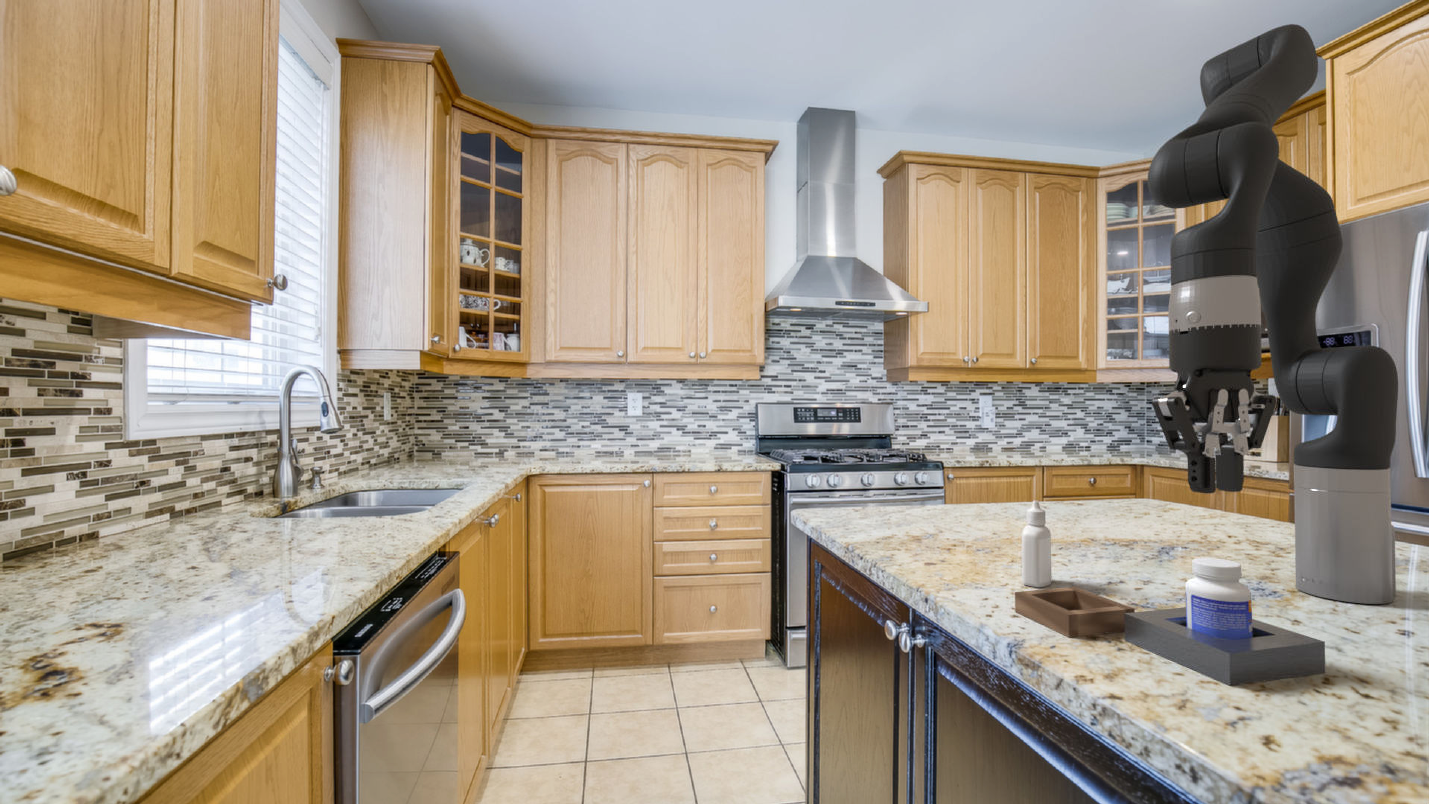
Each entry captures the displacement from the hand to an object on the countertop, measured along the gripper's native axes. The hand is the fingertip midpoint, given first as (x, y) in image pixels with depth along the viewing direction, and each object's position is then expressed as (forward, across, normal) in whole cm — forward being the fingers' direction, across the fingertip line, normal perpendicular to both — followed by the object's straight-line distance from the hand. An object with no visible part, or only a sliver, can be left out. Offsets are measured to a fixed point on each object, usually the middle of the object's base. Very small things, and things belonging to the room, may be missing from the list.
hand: (1215, 490), depth 65 cm
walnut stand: (+17, +6, -12) cm, 22 cm away
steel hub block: (+17, 0, 0) cm, 17 cm away
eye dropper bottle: (+17, 0, -27) cm, 32 cm away
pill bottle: (+17, 0, 0) cm, 17 cm away
